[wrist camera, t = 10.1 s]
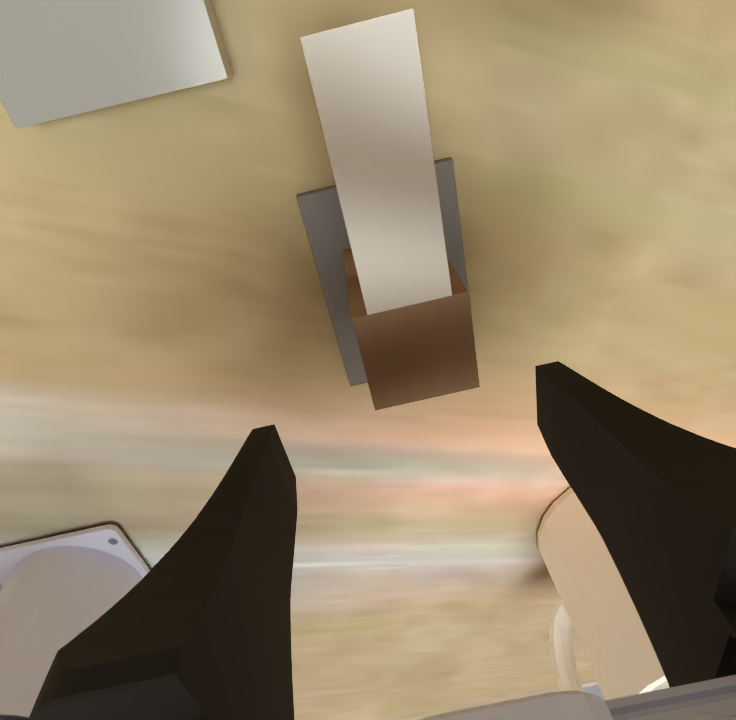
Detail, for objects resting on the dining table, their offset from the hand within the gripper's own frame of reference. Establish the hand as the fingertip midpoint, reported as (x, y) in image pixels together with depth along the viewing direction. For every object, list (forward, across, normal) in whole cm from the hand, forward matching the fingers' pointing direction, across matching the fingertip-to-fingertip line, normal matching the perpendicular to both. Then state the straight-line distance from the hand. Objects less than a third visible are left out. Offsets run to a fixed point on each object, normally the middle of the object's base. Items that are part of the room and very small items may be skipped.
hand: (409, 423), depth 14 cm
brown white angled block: (+9, -1, -4) cm, 10 cm away
